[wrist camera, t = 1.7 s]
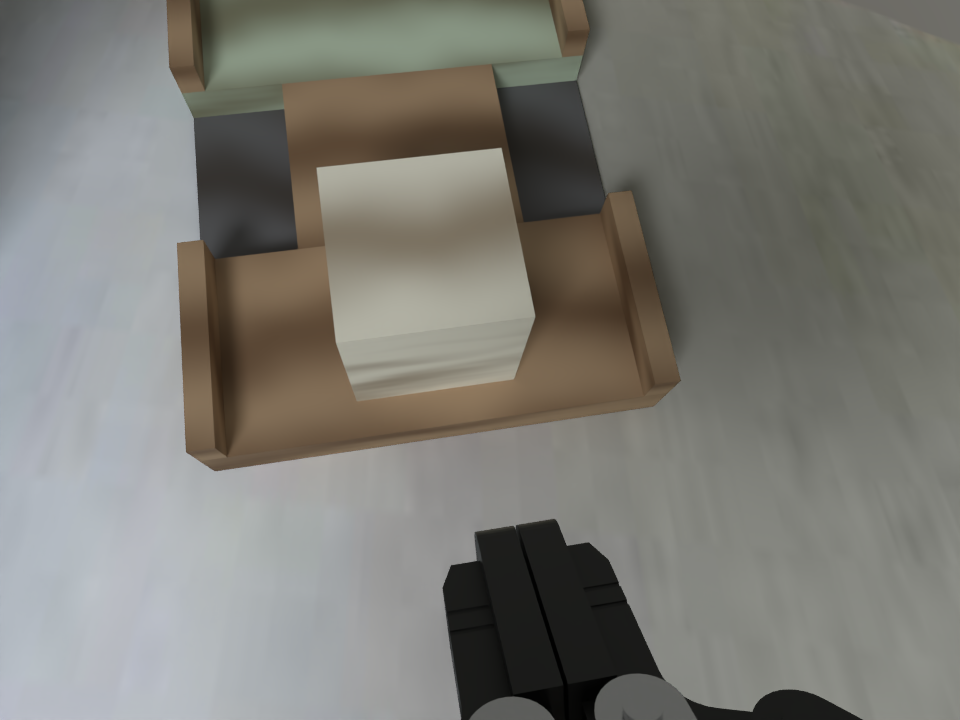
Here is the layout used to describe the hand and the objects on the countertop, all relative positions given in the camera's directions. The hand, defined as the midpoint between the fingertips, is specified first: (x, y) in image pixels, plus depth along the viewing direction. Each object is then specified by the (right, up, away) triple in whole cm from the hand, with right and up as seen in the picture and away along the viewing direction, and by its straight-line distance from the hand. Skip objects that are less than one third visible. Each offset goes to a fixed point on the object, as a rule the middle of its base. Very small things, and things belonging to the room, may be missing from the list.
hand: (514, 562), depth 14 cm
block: (-3, +6, +23) cm, 24 cm away
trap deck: (-5, +14, +28) cm, 32 cm away
